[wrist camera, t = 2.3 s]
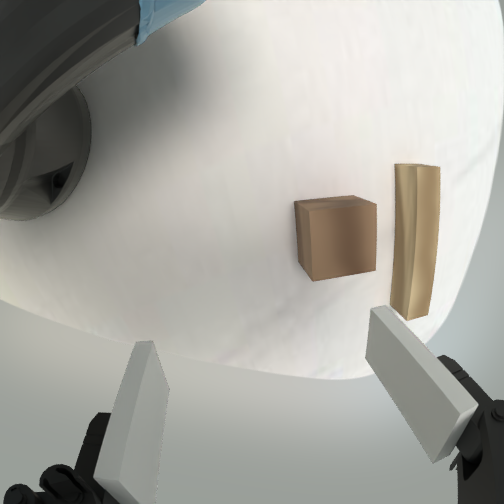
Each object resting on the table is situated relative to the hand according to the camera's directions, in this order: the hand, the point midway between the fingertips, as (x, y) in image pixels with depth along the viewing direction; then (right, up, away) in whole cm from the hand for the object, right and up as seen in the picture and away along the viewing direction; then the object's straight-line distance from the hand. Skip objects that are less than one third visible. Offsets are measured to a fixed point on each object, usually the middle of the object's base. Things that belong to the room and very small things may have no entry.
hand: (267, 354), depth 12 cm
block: (+7, +7, +17) cm, 20 cm away
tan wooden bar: (+16, +6, +18) cm, 25 cm away
